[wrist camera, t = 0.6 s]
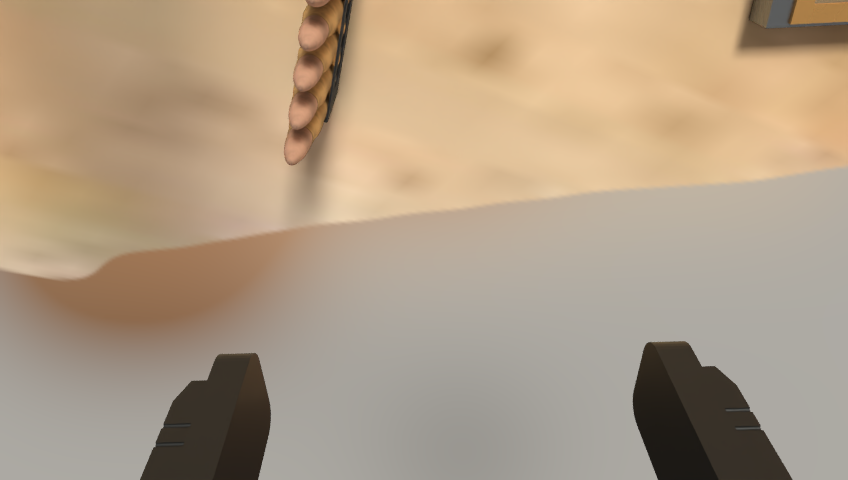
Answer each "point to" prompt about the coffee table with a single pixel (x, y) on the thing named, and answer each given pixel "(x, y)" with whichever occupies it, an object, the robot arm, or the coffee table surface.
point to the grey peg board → (799, 13)
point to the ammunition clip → (316, 73)
